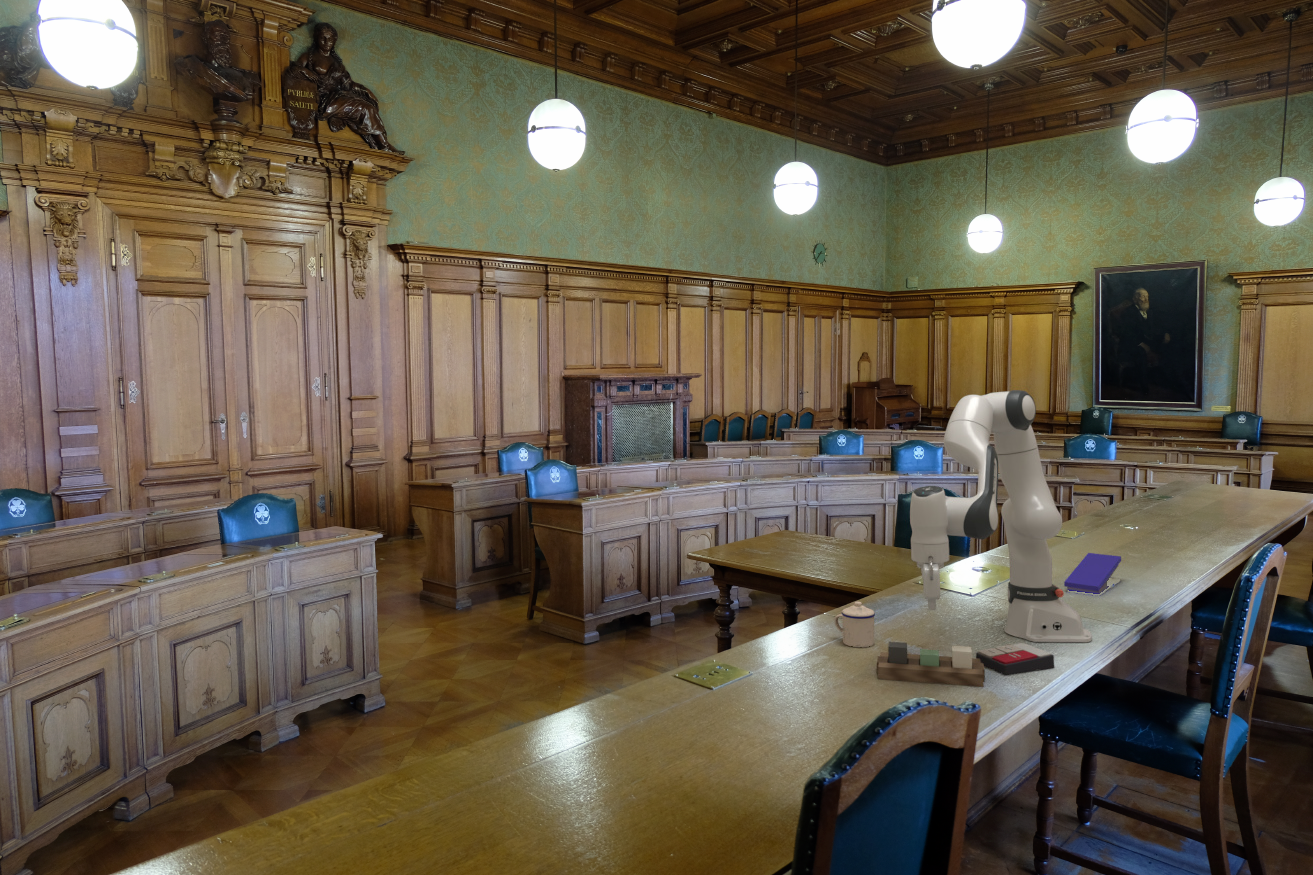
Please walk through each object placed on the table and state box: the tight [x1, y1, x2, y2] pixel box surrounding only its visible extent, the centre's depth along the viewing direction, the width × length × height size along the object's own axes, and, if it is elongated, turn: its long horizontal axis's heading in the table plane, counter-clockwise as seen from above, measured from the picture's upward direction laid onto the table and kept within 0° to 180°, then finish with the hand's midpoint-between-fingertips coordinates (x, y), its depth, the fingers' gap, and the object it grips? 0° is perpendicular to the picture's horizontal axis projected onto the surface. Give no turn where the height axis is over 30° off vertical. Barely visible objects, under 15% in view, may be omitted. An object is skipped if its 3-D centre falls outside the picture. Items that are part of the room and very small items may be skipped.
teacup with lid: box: [834, 601, 876, 648], centre depth 231 cm, size 12×9×12 cm
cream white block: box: [951, 645, 973, 669], centre depth 200 cm, size 4×4×5 cm
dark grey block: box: [887, 641, 908, 664], centre depth 205 cm, size 4×4×5 cm
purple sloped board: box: [1063, 552, 1122, 594], centre depth 287 cm, size 12×28×10 cm, turn 138°
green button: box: [919, 648, 940, 667], centre depth 203 cm, size 4×4×5 cm
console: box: [876, 651, 986, 688], centre depth 203 cm, size 25×12×3 cm, turn 72°
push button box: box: [975, 642, 1055, 676], centre depth 208 cm, size 11×4×15 cm
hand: (931, 608), depth 202 cm, fingers closed
